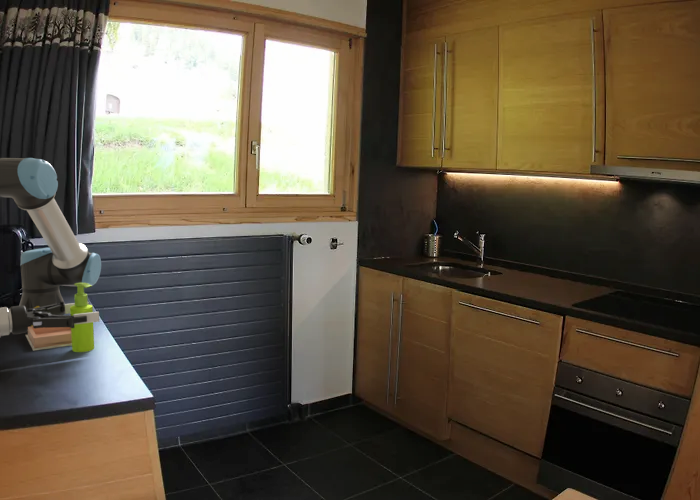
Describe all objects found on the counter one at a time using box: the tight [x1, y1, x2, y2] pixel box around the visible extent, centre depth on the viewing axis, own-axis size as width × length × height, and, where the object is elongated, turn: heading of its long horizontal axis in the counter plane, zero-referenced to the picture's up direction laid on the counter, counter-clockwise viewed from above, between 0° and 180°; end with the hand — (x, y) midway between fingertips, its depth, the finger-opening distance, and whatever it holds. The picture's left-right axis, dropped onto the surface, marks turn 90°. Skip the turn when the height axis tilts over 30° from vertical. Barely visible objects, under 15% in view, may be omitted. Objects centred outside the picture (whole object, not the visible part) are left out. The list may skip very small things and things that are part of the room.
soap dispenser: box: [69, 282, 95, 353], centre depth 178 cm, size 6×7×20 cm
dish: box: [27, 325, 72, 348], centre depth 189 cm, size 14×14×3 cm
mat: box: [25, 334, 72, 351], centre depth 189 cm, size 18×15×1 cm
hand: (93, 311), depth 179 cm, fingers open, 13 cm apart
